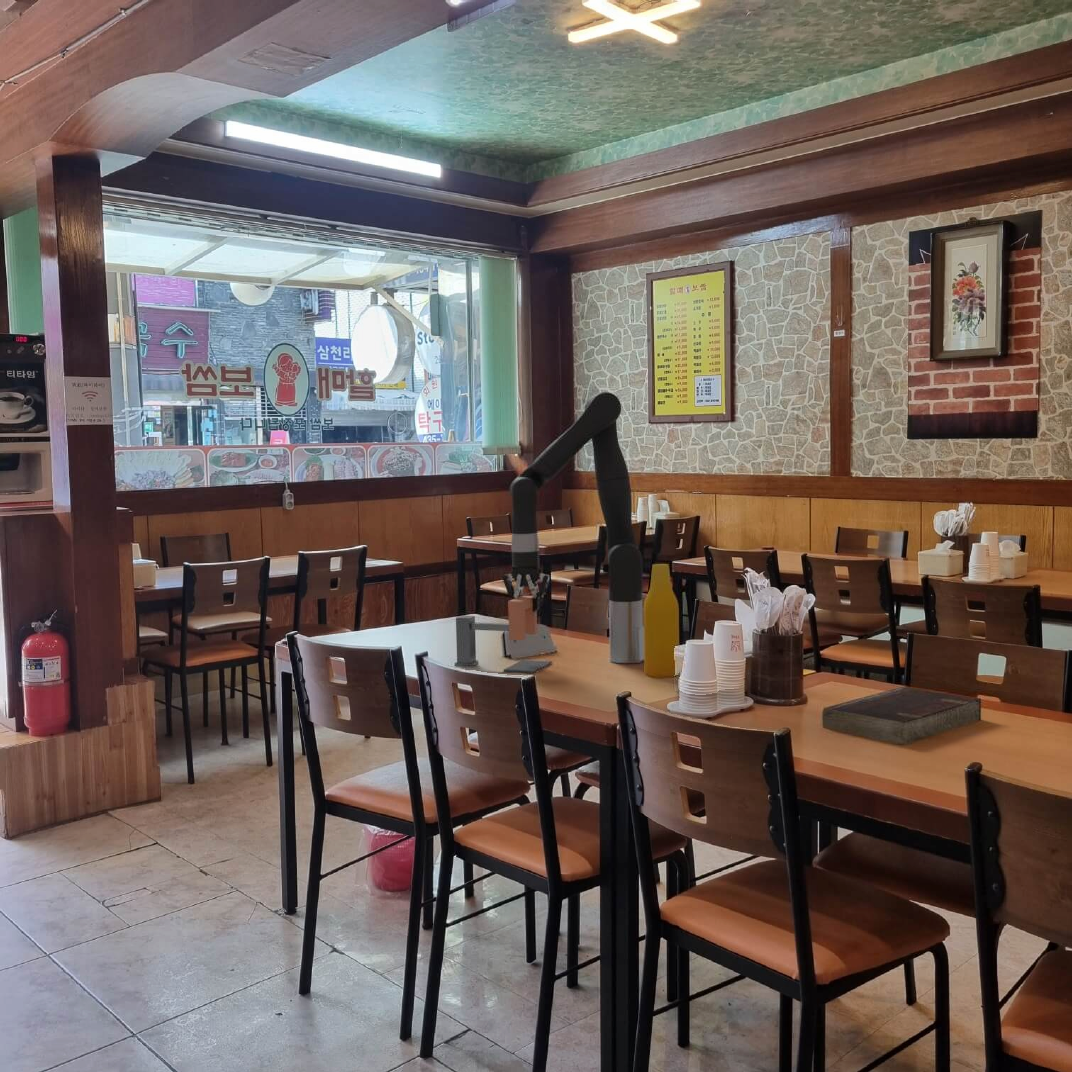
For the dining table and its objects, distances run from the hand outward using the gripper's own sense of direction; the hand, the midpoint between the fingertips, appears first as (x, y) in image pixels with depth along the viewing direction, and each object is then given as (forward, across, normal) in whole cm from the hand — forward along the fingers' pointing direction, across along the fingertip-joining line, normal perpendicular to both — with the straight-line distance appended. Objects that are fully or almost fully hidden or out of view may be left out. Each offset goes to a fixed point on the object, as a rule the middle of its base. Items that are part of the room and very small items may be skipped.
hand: (527, 610), depth 289 cm
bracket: (+15, +11, +4) cm, 19 cm away
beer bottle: (+16, -39, +4) cm, 42 cm away
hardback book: (+17, -99, +39) cm, 108 cm away
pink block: (+7, 0, +4) cm, 7 cm away
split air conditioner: (+16, +6, -16) cm, 23 cm away
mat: (+15, -1, +4) cm, 16 cm away
